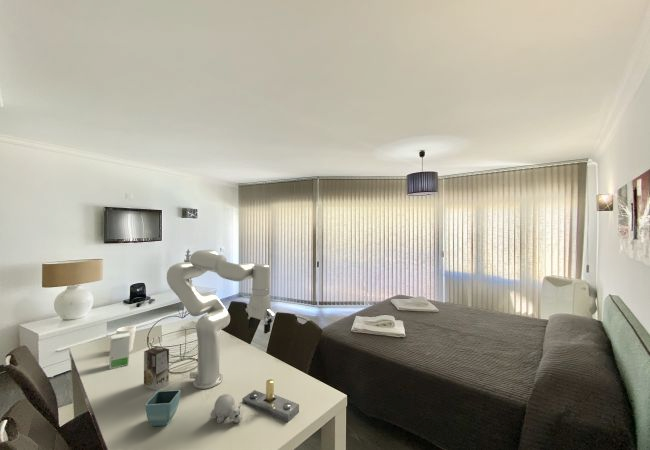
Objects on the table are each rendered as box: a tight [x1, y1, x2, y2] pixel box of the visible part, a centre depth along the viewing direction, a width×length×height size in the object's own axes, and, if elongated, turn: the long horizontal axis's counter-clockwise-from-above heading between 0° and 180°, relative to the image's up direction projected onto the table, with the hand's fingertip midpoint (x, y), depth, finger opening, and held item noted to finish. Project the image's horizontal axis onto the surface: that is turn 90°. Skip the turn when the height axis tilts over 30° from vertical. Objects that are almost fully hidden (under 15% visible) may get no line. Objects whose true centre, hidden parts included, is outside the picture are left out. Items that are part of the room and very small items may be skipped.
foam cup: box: [115, 325, 137, 352], centre depth 163 cm, size 10×9×13 cm
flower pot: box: [144, 389, 181, 427], centre depth 101 cm, size 9×9×9 cm
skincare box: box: [108, 333, 130, 370], centre depth 145 cm, size 8×7×16 cm
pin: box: [265, 378, 275, 403], centre depth 110 cm, size 3×3×10 cm
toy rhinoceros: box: [210, 393, 243, 424], centre depth 102 cm, size 7×12×8 cm, turn 70°
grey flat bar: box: [241, 389, 300, 423], centre depth 110 cm, size 24×7×3 cm, turn 59°
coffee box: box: [143, 345, 170, 391], centre depth 126 cm, size 9×6×16 cm
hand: (259, 330), depth 122 cm, fingers open, 9 cm apart
